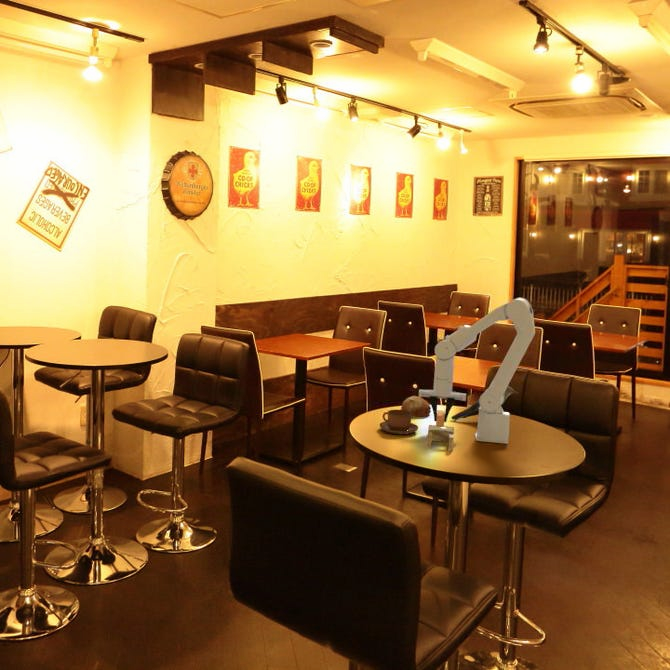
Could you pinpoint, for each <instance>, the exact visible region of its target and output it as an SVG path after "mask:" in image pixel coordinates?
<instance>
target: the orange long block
mask: <svg viewBox="0 0 670 670" xmlns="http://www.w3.org/2000/svg"><path fill="white" fill-rule="evenodd" d="M445 411H446V410H443V409H442V410H441V409H437V419H436V421H435V425H436V426H445V422H444V418H445Z"/></svg>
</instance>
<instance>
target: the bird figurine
mask: <svg viewBox="0 0 670 670" xmlns="http://www.w3.org/2000/svg"><path fill="white" fill-rule="evenodd" d="M512 394H517V395H519V392H518V391H516V390H515V389H513V388H512V387H511V386H509V385H508V386H507V389H506V390H505V393H504V401H503V403H502V404H501V405H500V406H501V407H502V406H503V404H504V403H505V401H506V400H507V398H508V397H509V396H511V395H512ZM479 407H481V406H480V404H479V400H477V401H476V402H474V403H473V404H472V405H470V406H469V407H468V408H466V409H464V410H461V411H460V412H458V413H456V414H454V415H452V416H451V419H452V420H453V422H456V421H458V420H461V419H466V418H469V417H473V416H477V417H478V416H479Z"/></svg>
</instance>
